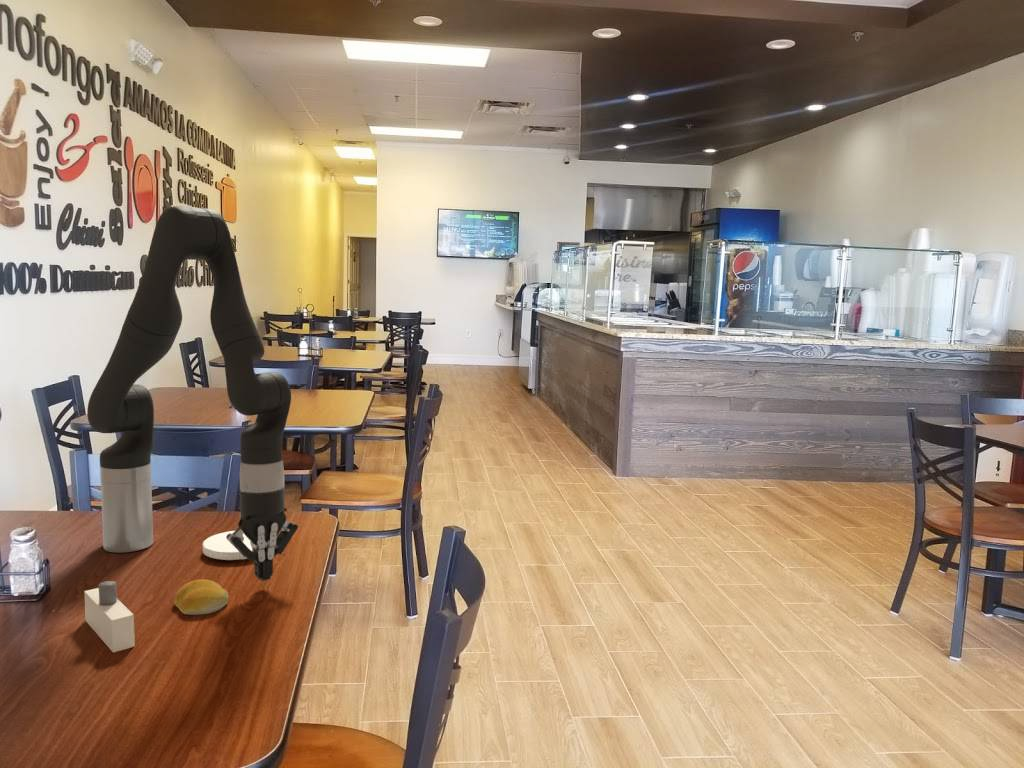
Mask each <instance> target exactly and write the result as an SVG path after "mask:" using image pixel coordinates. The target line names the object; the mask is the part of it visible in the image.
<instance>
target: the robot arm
mask: <svg viewBox="0 0 1024 768" xmlns="http://www.w3.org/2000/svg"><path fill="white" fill-rule="evenodd" d="M186 260H192V261H193V260H197V261H204V262H205V263H206V265H207V267H208V268H209V270H210V273H211V275H212V280H213V294H212V301H211V305H210V306H211V308H210V314H209V319H210V325H211V329H212V333H213V336H214V339H215V340H216V344H217V345H218V348H219V350H220V353H221V355H222V357H223V358H222V359H223V362H224V373H225V381H226V382H225V383H226V391H227V398H228V399H229V402H230V404H231V405H232V407H233V408H234V409H235V410H236V411H237V412H238V413H239V414H240V415H243V416H246V417H247V416H250V417H251V416H255V415H256V419H255V421H254V423H253V424H252V425H250V426H248V427H247V428H245V429H244V430H243V431H242V432H241V434H240V445H239V446H240V468H239V510H240V511H239V513H240V518H239V521H238V525H237V526H238V527H237V528H236V529H235V530H234V531H235V532H234V533H233V534H231V533H230V534H228V535H227V537H226V538H227V540H228V541H229V542H230V543H231V544H232V545H233V546H234V547H235V548H236V549H237V550H238V551H239V552H240V553H241V554H242V555H243V556H244V557H246V559H247V560H248V561H250V562H252V561H253V563H254V566H253V567H254V569H253V570H254V576H255V577H256V578H257V579H258V580H259V581H260V582H264V581H268V580H270V579H271V576H272V575H273V574H274V558H275V557H276V556H277V555H280V554H283V553H284V551H285V549H286V547H287V546H288V544H289V543H290V542H291V539H292V538H293V536H294V534H295V533H296V531H297V530H298V528H299V526H298V524H296V523H294V522H293V521H290V520H288V519H287V515H286V513H285V509H286V508H285V501H286V499H285V481H286V480H285V479H286V478H285V470H284V462H283V435H284V432H285V428H286V425H287V421H288V417H289V416H288V415H289V413H290V412H289V411H290V408H291V405H292V403H291V402H292V390H291V387H290V384H289V382H288V380H287V379H286V377H285V376H284V375H283V374H281V373H279V372H275V371H269V372H261V373H260V372H259V373H256V372H255V369H254V364H255V363H257V362H259V361H260V360H261V359H262V358H263V357H264V355H265V346H264V344H263V341H262V339H261V336H260V334H259V331H258V329H257V326H256V324H255V322H254V319H253V317H252V314H251V312H250V309H249V306H248V303H247V300H246V297H245V293H244V288H243V284H242V280H241V274H240V270H239V267H238V261H237V257H236V253H235V250H234V245H233V239H232V236H231V233H230V230H229V227H228V224H227V222H226V220H225V219H224V217H223V216H222V215H221V214H220V212H217V210H214V209H210V208H203V207H193V206H184V205H183V206H182V205H173V206H169V207H167V208H166V209H165V210H163V211H162V213H161V214H160V216H159V217H158V219H157V222H156V224H155V228H154V231H153V234H152V238H151V241H150V245H149V250H148V253H147V258H146V260H145V261H146V262H145V265H144V268H143V273H142V276H141V278H140V281H139V284H138V286H137V289H136V292H135V295H134V297H133V299H132V302H131V305H130V306H129V309H128V311H127V314H126V315H125V316H126V317H125V319H124V321H123V324H122V327H121V329H120V334H119V336H118V339H117V341H116V343H115V346H114V348H113V350H112V353H111V356H110V357H109V360H108V362H107V364H106V366H105V368H104V370H103V371H102V374H101V375H100V377H99V379H98V380H97V382H96V384H95V386H94V388H93V390H92V392H91V395H89V396H90V397H89V399H88V403H87V412H86V414H87V415H86V416H87V421H88V424H89V426H90V427H91V429H93V430H94V431H95V432H97V433H100V434H117V433H122V434H121V436H120V437H119V438H118V439H117V441H115V442H114V443H113V444H111V445H109V446H107V447H105V448H104V449H103V450H102V451H100V453H99V471H100V473H99V475H100V493H101V494H100V496H101V499H100V500H101V520H102V522H101V523H102V524H101V525H102V546H103V550H104V551H106V552H110V553H130V552H136V551H141V550H144V549H146V548H149V547H150V546H152V545H153V543H154V530H153V529H154V527H153V525H154V521H153V495H152V494H153V493H152V492H153V491H152V465H151V462H152V460H151V459H152V458H151V456H152V453H153V448H154V427H155V425H154V421H155V420H154V419H155V412H154V411H155V409H154V401H153V397H152V394H151V393H150V391H149V389H148V388H147V387H145V385H142V384H136V381H138V379H140V378H141V377H142V376H144V374H146V372H148V371H149V370H150V369H152V368H153V367H154V366H155V365H157V364H158V363H159V362H160V361H161V360H162V359H163V358H164V357H166V355H167V354H168V353H169V352H170V350H171V349H172V347H173V344H175V343H174V342H175V340H176V337H177V336H178V333H179V330H180V328H181V326H182V323H183V312H182V308H181V307H182V306H181V304H180V300H179V297H178V295H177V294H178V293H177V291H176V286H175V285H176V281H177V278H178V273H179V272H180V269H181V267H182V266H183V263H184V262H185V261H186ZM243 533H244V534H245V536H246V537H247V538H248V539H249V540H250V544H251V547H252V551H251V550H250V549H249V548H248V547H247V546H246V545H245V544H244V543H243V541H244V537H243Z"/></svg>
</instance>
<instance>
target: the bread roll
mask: <svg viewBox="0 0 1024 768" xmlns="http://www.w3.org/2000/svg"><path fill="white" fill-rule="evenodd" d="M228 601H229V592H228V591H227V590H226V589H225V588H222V586H221V585H220V584H219V583H217V582H216V581H213V580H210V579H205V578H204V579H195V580H192V581H188V582H187V583H185V584H184V585H183V586H181V587H180V588H179V589H178V590H177V591H176V593H175V595H174V599H173V602H174V605H175V606H176V607H177V608H178V610H179V611H180V612H181V613H182V614H184V615H190V616H192V615H193V616H198V615H199V616H200V615H208V614H212V613H215V612H217V611H219V610H221V609H222V608H223V607H225V606H226V605H227V604H228Z"/></svg>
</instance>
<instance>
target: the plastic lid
mask: <svg viewBox="0 0 1024 768" xmlns="http://www.w3.org/2000/svg"><path fill="white" fill-rule="evenodd" d="M235 531H236V530H231V531H225V532H221V533H216V534H214V535H211V536H209V537H208V538H206V539H205V540H204V541H203V542H202V553H203V555H204V556H206V557H209V558H211V559H214V560H215V559H216V560H221V561H223V560H225V561H234V560H239V561H240V560H247V558H246V557H244V556H243V555H242V554H241V553H240V552H239V551H238V550H237V549H236V548H235V547H234V546H233V545H232V544H231V543H230V542H229V541H228V540H227V538H226V537H227V535H228V534H230V533H231V534H233V533H234V532H235ZM243 537H244V541H243V543H244V544H245V545H246V546H247V547H248V548H249V549H250V550H251V551H252V547H251V544H250V540H249V539H248V538H247V537H246V536H245V534H244V533H243Z"/></svg>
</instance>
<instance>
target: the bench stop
mask: <svg viewBox="0 0 1024 768" xmlns="http://www.w3.org/2000/svg"><path fill="white" fill-rule="evenodd" d="M83 592H84V594H83V595H84V613H85V615H84V617H85V618H84V619H85V622H86V623H87V624H88V625H89V627H90V628H91V629H92V630H93V631H94V632H95V634H96V635H97V636H98V637H99V638H100V640H102V641H103V642H104V644H105V645H106V646H107V647H108V649H109V650H110V651H111V652H112V653H117V652H120V651H124V650H127V649H130V648H134V647H136V644H135V643H136V641H135V638H136V637H135V617H134V616H135V615H134V613H133V612H132V611H131V610H129V608H128V607H126V606H125V605H124V604H123V603H122V602H121V601H120V599H118V597H117V596H118V595H117V593H118V592H117V581H114V580H106V581H102V582H101V583H99V584H98V587H97V588H93V589H87V590H84V591H83Z"/></svg>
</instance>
